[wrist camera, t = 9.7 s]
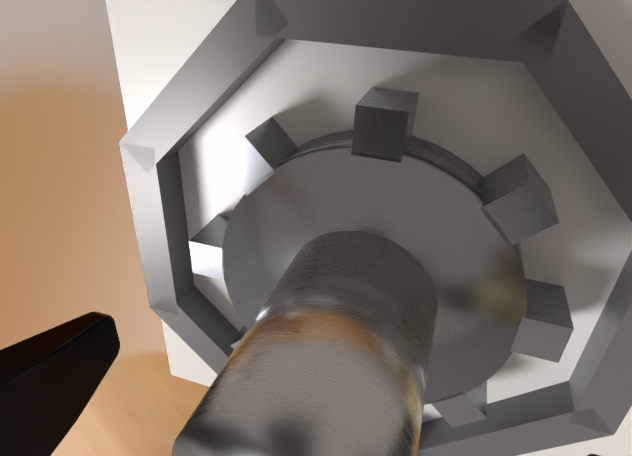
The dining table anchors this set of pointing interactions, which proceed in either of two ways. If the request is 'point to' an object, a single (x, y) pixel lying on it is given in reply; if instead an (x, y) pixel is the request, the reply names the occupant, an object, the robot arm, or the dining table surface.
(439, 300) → the planet gear
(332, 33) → the plate
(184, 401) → the dining table surface
